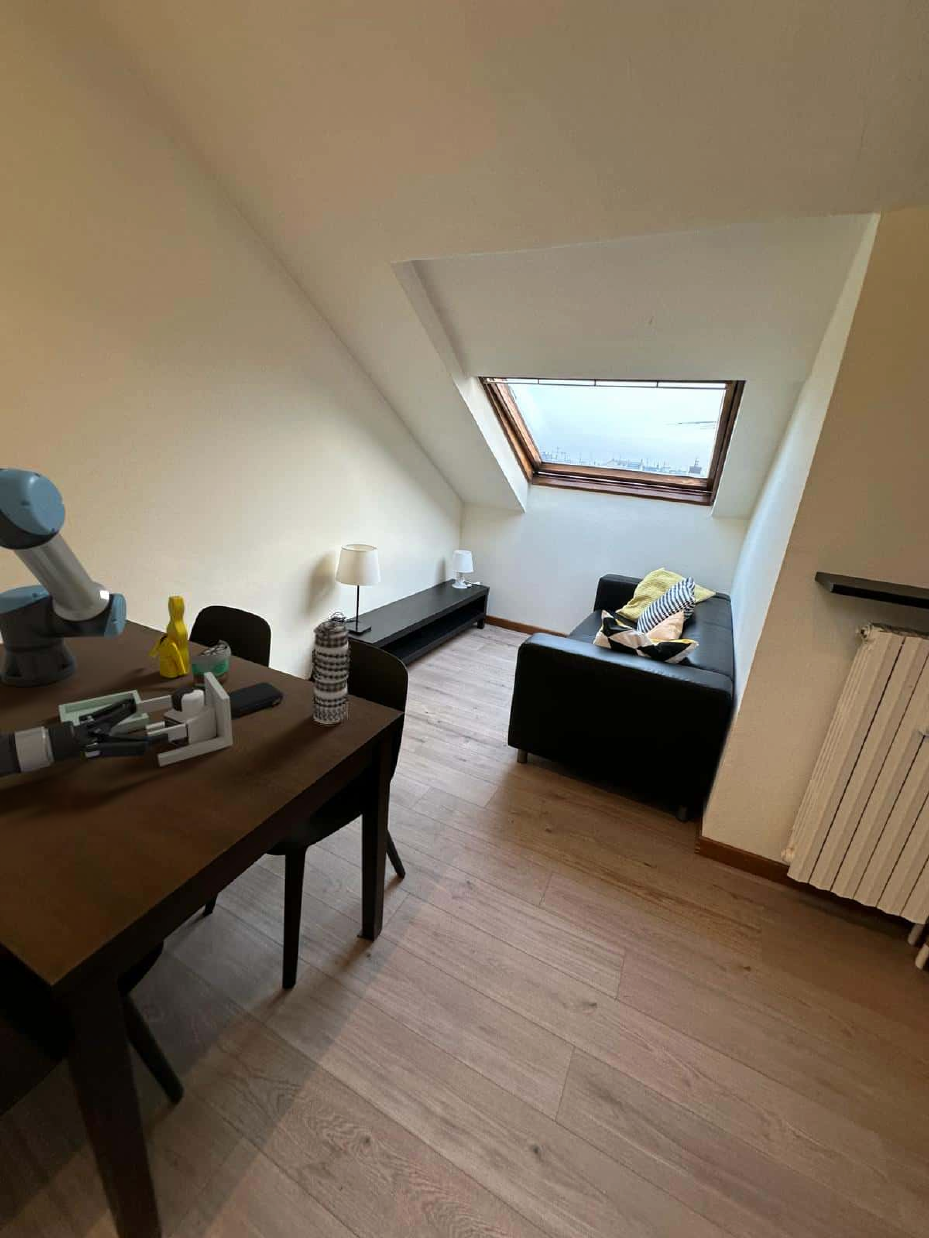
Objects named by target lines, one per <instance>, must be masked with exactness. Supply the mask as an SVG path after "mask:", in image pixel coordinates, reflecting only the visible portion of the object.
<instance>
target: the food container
mask: <svg viewBox="0 0 929 1238" xmlns="http://www.w3.org/2000/svg"><path fill="white" fill-rule="evenodd" d="M231 654H232V650H231V648H230V646H229V644H228V643H227V642H225V641H224V640H221V639H219V640H218V644H216V645H214V646H211V647H208V648H205V649H204V650H202V651H201V652H200V653H198V654H197V655H192V654H191V655H189V663H190V666H191V670H192V675H193V680H194V686H195V687H197V688H200V689H201V690H205V681H204V673H208V672H211V673H212V674H213V676H214V677H215V678H216V680H217V681H218V682H219V684H220V685H221V686H223V685H225V684H226V683H228V679H229V678H228V676H229V657H230V656H231Z"/></svg>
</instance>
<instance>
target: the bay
mask: <svg viewBox="0 0 929 1238" xmlns="http://www.w3.org/2000/svg"><path fill="white" fill-rule="evenodd" d="M204 681H205V689H204V691H205V692H204V693H205V702H206V705H205V706H208V707H210V708H213V709H214V711H215V723H216V735H217V736H218V737H214V738H211V739H210V740H207V741H204V742H200V743H197V744H193V745H190V746H186V747H179V748H175V749H172V750H169V751H165V752H162V753H158V754H157V759H158V760H157V761H158V764H159V766H160V767H164V766H167V765H170V764H173V763H177V762H181V761H183V760H186V759H191V758H194V757H197V756H200V755H204V754H207V753H210V752H214V751H217V750H218V751H219V750H221V749H224V748H225V749H226V747H231V746H233V744H234V743H233V742H234V741H233V729H232V728H233V727H232V716H231V710H230V697H229V696H228V695H227V693H228V692H226V690H225V689H224V688H223V685H220V684H219V682H218V681H217V680H216V678H215V677H214V676H213V674H212V673H211V672H208V673H204ZM161 729H165V722H164V720H163V721H160V722H156V723H152V724H149V725H147V726H146V728H145V731H146V736H148V733H149V732H153V731H157V730H161Z"/></svg>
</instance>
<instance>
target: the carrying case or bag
mask: <svg viewBox="0 0 929 1238" xmlns="http://www.w3.org/2000/svg"><path fill="white" fill-rule="evenodd" d="M226 693H227V695H228V696H229V697H230V710H231V717H233V718H234V717H239V716H242V715H246V714H249V713H252V712H254V711H257V710H260V709H263V708H265V707H266V708H267V707H268V706H275V705H276V704H279V703H281V701H282V700H283V699H284V693H283V692H282V691H281V690H279V689H278V688H276V687H275V686H273V685H272V684H270V683H269V682H266V681H263V682H259V683H256V684H252V685H249V686H245V687H242V688H240V689H236V690H233V691H229V692H226Z"/></svg>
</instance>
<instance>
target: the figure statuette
mask: <svg viewBox="0 0 929 1238" xmlns="http://www.w3.org/2000/svg"><path fill="white" fill-rule="evenodd" d="M167 608H168V614H169V617H170V619H169V622H168V623H167V626H166V630H165V632H166V633H164V634H162V635H161V636H159V637H158V638H157V642H156V644H155V646H153V648H152V650H151V651H150V653H149V654H148V655H149V657H150V658H154V659H155V658H156V657H157V656H158V670H159V675H160V676H162V677H164V678H168V679H171V678H172V679H173V678H177V677H178V676H186V675H187V674H189V672H190V670H191V669H190V668H191V663H189V658H190V655H189V651H188V650H189V649H188V640H189V633H188V630H187V628H186V624H185V622H184V615H185V612H186V611H185V601H184V598H183V597H182V596H180V595H174V596H169V597H168V602H167Z"/></svg>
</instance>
